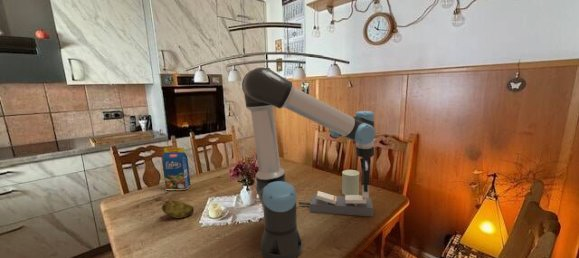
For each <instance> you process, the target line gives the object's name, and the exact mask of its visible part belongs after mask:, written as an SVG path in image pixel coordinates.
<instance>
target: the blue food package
mask: <svg viewBox="0 0 579 258" xmlns="http://www.w3.org/2000/svg"><path fill="white" fill-rule="evenodd" d="M163 151H164V152H163V155H162V169H163V176H164V177H163V178H164V185H165V190H166V189H186V188H187V187H188V186H189V185H191V178H190V177H191V176H190V167H189V161H188V159H189V158H188V156H187V154H186V152H185V148H184V147H164V148H163Z"/></svg>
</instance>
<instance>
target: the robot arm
mask: <svg viewBox="0 0 579 258" xmlns="http://www.w3.org/2000/svg"><path fill="white" fill-rule="evenodd" d="M241 82H242V83H241V89H242V92H243V94H244V102H245V108H246V109H248V111H249V112H250V115H251V116H250V117H251V122H252V129H253V136H254V137H253V139H254V144H255V145H254V146H255V151H256V158H257V165H258V171H257V172H256V173H255V178H256V179H255V180H256V193H257V195H258V197H259V200H260V203H261V206H262V209H263V210H262V211H263V223H264V224H263V225H264V227H263V229H264V231H263V233H262V237H261V241H260V253H261V255H262V257H264V258H297V257H298V256H299V255H300V254H301V253H302V250H303V241H302V237H301V234H300V232H299V230H298V224H297V221H298V220H297V193H296V189H295V187H294V186H293V185H292V184H291V183H289V182H287V179H286V173H285V170H284V169H283V168H282V167H281V163H280V156H279V155H280V153H279V147H278V146H279V144H278V139H277V137H278V136H277V129H276V120H275V114H274V112H275V111H274V109H275V108H277V109H287V110H288V111H291V112H293V113H295V114H297V115H299V116H301V117H304V118H306V119H308V120H309V121H312V122H314V123H316V124H318V125H319V126H320V125H321V126H322V127H324V128H326V129H328V131H329V135H330V136H331V137H333V138H340V137H343V138H345V139H348V140H350V141H353V142H355V146H356V149H355V152H356V154H355V155H356V156H357V157H359V158H360V159H359V161H360V168H361V183H360V185H361V191H362V192H361V195H362V198H370V170H371V159H370V158H373V157H374V155H375V147H374V146H375V142H376V138H375V137H376V130H375V122H376V121H375V113H374V112H373V111H371V110H359V111H356V112H355V116H351V115H349V114H347V113H345V112H343V111H342V110H339V109H338V108H336V107H333V106H332V105H330V104H328V103H326V102H325V101H322V100H320V99H318V98H316V97H314V96H313V95H310V94H309V93H307V92H304V91H302V90H300V89H299V88H297V87H295V86H294V83H293V82H292V81H290V80H289V79H286V78H285V77H283V76H281V75H279V74H278V73H276V72H275V71H273V70H272V69H269V68H268V67H256V68H254V69H252V70H250V71H248V72H247V73H246V74H245V75H244V77H243V79H242V81H241Z"/></svg>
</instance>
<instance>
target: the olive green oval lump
mask: <svg viewBox="0 0 579 258" xmlns="http://www.w3.org/2000/svg"><path fill="white" fill-rule="evenodd" d="M161 210H162V212H163V213H164V214H166V215H167V216H169V217H172V218H175V219H182V218H183V217H184V218H186V217H189V216H191V215H192V214H193V213H194V211H195V209H194V206H193V205H192V204H190V203H186V202H184V201H180V200H177V199H169V200H166V201H165V202H164V203H162V206H161Z"/></svg>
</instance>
